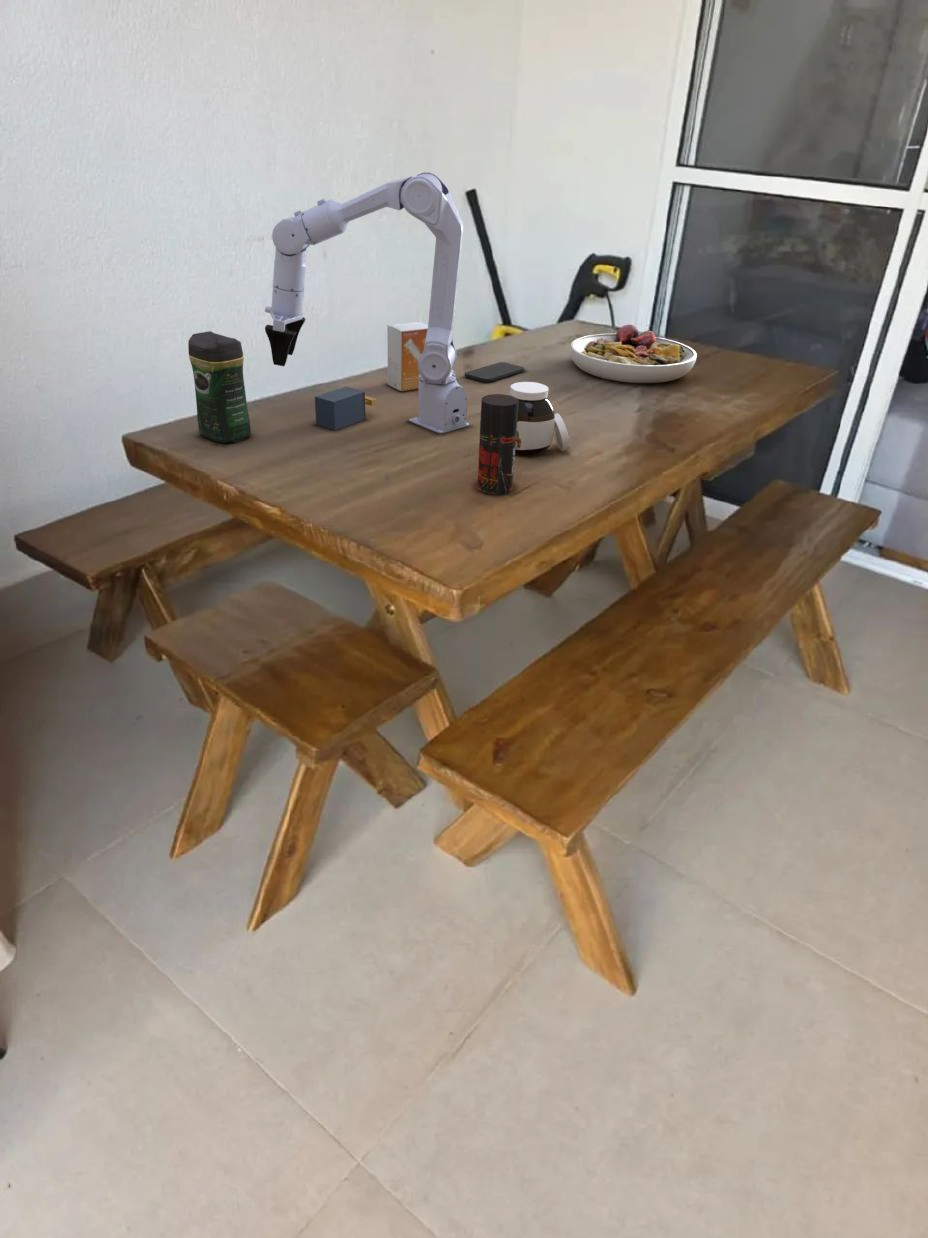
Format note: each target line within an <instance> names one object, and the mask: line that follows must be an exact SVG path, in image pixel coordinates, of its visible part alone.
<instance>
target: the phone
mask: <svg viewBox="0 0 928 1238" xmlns="http://www.w3.org/2000/svg"><path fill="white" fill-rule="evenodd" d="M524 371H525V367H524V366H522V365H517V364H513V363H509V362H504V361H500V362H496V363H493V364H488V365H486V366H482V367H479V368H476V369H472V370H467V371H465V372H464V377H466V378H469V379H473V380H476V381H479V382H484V383H490V382H494V381H498V380H501V379H503V378H507V377H510V376H513V375H516V374H521V373H523V372H524Z"/></svg>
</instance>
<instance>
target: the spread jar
mask: <svg viewBox="0 0 928 1238" xmlns="http://www.w3.org/2000/svg"><path fill="white" fill-rule="evenodd" d="M509 388H510V390H509V395H510V396H513V397H516V398H517V399H518V400H519V404H518V418H517V432H516V446H515V455H517V456H524V457H525V456H526V457H532V456H537V455H540V454H541V453H543V452H545V451H546V450H547V449H549V448H550V447H551V445H552V443H553V439H554V440H555V443H556V445H557V447H558V448H559V450H560V451H561V452H564V451H566V450H570V447H571V441H570V437H569V433H568V429H567V427H566V424H565V422H564V419H563V418H562V416H561V415H560V414H559V413H555V409H554V406H553V405H552V403H551V401H550V400H549V398H548V396H549V387H548V386H547V385H545V384H543V383H540V382H534V381H518V382H514V383H512V384H511V385H510V387H509Z"/></svg>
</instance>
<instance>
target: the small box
mask: <svg viewBox="0 0 928 1238" xmlns="http://www.w3.org/2000/svg"><path fill="white" fill-rule="evenodd" d="M386 326H387V327H386V329H387V330H386V331H387V333H386V335H387V385H388V386H390V387H392V388H393V389H396V390H397V391H400V392H406V391H413V390H419V374H420V372H419V370H418V360H419V358H420V356H421V354H422V353H423V351H424V347H425V339H426V335H427V330H428V324H425V323H423V322H421V321H415V322H414V321H413V322H403V323H401V322H400V323H396V324H388V325H386Z"/></svg>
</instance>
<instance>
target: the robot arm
mask: <svg viewBox="0 0 928 1238" xmlns="http://www.w3.org/2000/svg"><path fill="white" fill-rule="evenodd" d="M316 204H317V205H314V206H313V207H310V208H308V209H305V210H303V211H301V209H299V210H296V211H294V212H293V215H294V216H290V217H287V218H283V219H281V220H280V221H279V222H278V223H276V225H274V227H273V229H272V234H271V238H272V242H273V245H274V246H275V252H274V253H275V254H274V262H273V277H272V278H273V279H272V293H271V306H270V305H269V306H265V307H264V312H265V313H268V314H270V316H271V318H272V320H273V321H272V324H266V325H265V326H264V331H265V334H266V336H267V338H268V339H267V340H268V341H269V345H270V350H271V351H270V352H271V359H272V363H273V365H274V366H279V367H285V366H286V363H287V361H288V357H289V356H292V355H294V352H295V348H296V344H297V340H298V337H299V334H300V332H301V329H302V328H303V326H304V324H305V323H306V317H304V313H303V307H304V294H305V282H306V271H307V269H306V268H307V263H306V262H307V253H308V252H307V251H308V250H307V249H308V248H309V247H310V246H317V245H318V244H321V243H322V242H325V241H328V240H330V239H333V238H335V237H338V236H339V235H342V234H344V233H345V232H346V231H347V227H348V225H349V222H351V221H354V220H357V219H359V218H363V217H364V216H367V215H369V214H371V213H374V212H377V211H379V210H382V209H385V208H390V209H392V210H396V211H401V210H403V209H405V211H406V212H407V213H408V214H409V215H411V216H412V217H413V218H415V219H417V220H418V221H420V222H422V223H423V224H424V225H425V227H427V228H428V230H429V231H430V232H431V233H432V235H433V236H434V237H435V245H434V246H435V247H434V259H433V268H432V278H431V279H432V280H431V290H430V299H429V300H430V301H429V309H428V310H429V312H428V322H427V325H428V330H427V335H426V339H425V347H424V351H423V353H422V354H421V356H420V358H419V360H418V370H419V372H420V374H419V389H418V410H417V411H418V413H417V414H418V416H415V417H411V418H409V419H408V421H409V422H410V423H412V424H415V425H416V426H419V427H421V428H424V429H427V430H430V431H431V432H435V433H437V434H440V435H441V434H446V433H449V432H452V431H453V432H454V431H456V430H459V429H462V428H466V427H469V426H470V423H469V422H467V413H468V412H467V411H468V393H467V391H466V389H465V387H463V386H462V385H460V384H459V383H458V381H457V375H456V374H455V372H454V370H453V366H454V364H455V363H456V362H457V355H458V353H457V349H456V346H455V343H454V342H455V341H454V340H455V339H454V337H455V330H454V324H455V315H456V307H457V305H456V304H457V296H458V285H459V277H460V266H461V260H462V259H461V258H462V249H463V248H462V247H463V239H464V231H465V230H464V223H463V220H462V218H461V215H460V214H459V213H460V212H459V211H458V209H457V206H456V204H455V201H454V200H453V197H452V195H451V191H450V188H449V187H448V186H447V185H446V184H445V182H444V181H442V179H441V178H440V177H439V176H438V175H437V174H435V173H432V172H430V171H429V172H428V171H425V172H424V171H423V172H420V173H418V174H417V175H415V176H412V175H411V176H407V177H401V178H399V179H395V180H392V181H391V180H390V181H388V182H386V183H384V184H381V185H379V186H376V187H375V188H373V189H371V190H368V191H366V192H365V193H362V194H360V195H358V196H356V197H354V198H352V199H350V200H348V201H345V202H343V203H340V202H338V201H336V200H335V199H329V200H326V198H321V199H320V200H317V201H316Z"/></svg>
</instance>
